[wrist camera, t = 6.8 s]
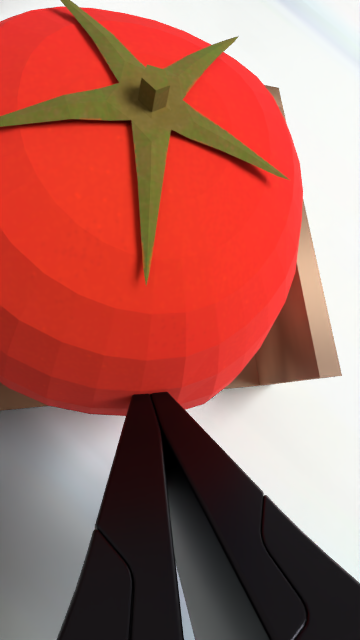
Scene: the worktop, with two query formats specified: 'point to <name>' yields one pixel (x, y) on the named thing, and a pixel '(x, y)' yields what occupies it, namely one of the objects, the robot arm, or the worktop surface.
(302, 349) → the tray
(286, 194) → the tomato
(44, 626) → the worktop surface
